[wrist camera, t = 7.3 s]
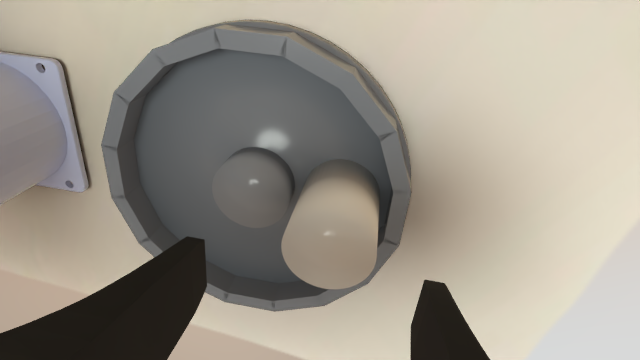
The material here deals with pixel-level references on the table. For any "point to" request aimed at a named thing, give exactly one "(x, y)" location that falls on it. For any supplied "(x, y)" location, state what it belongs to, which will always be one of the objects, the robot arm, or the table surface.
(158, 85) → the groove tray
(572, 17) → the table surface
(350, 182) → the cream bead
